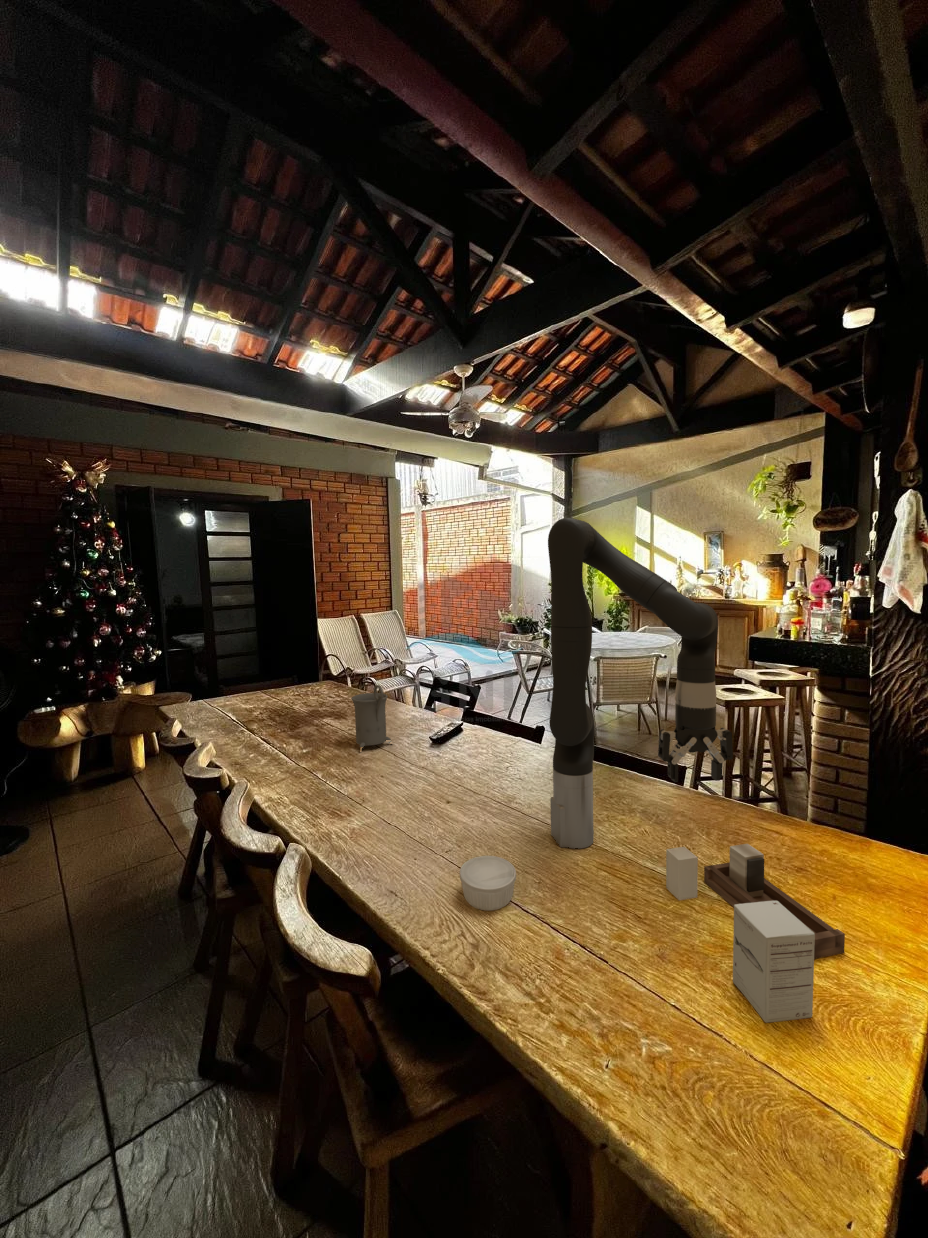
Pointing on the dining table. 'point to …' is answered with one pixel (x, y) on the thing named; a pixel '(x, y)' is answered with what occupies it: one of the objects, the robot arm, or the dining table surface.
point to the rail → (767, 895)
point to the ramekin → (488, 882)
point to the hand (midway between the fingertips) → (694, 780)
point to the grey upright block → (681, 873)
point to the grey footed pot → (370, 717)
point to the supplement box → (773, 960)
